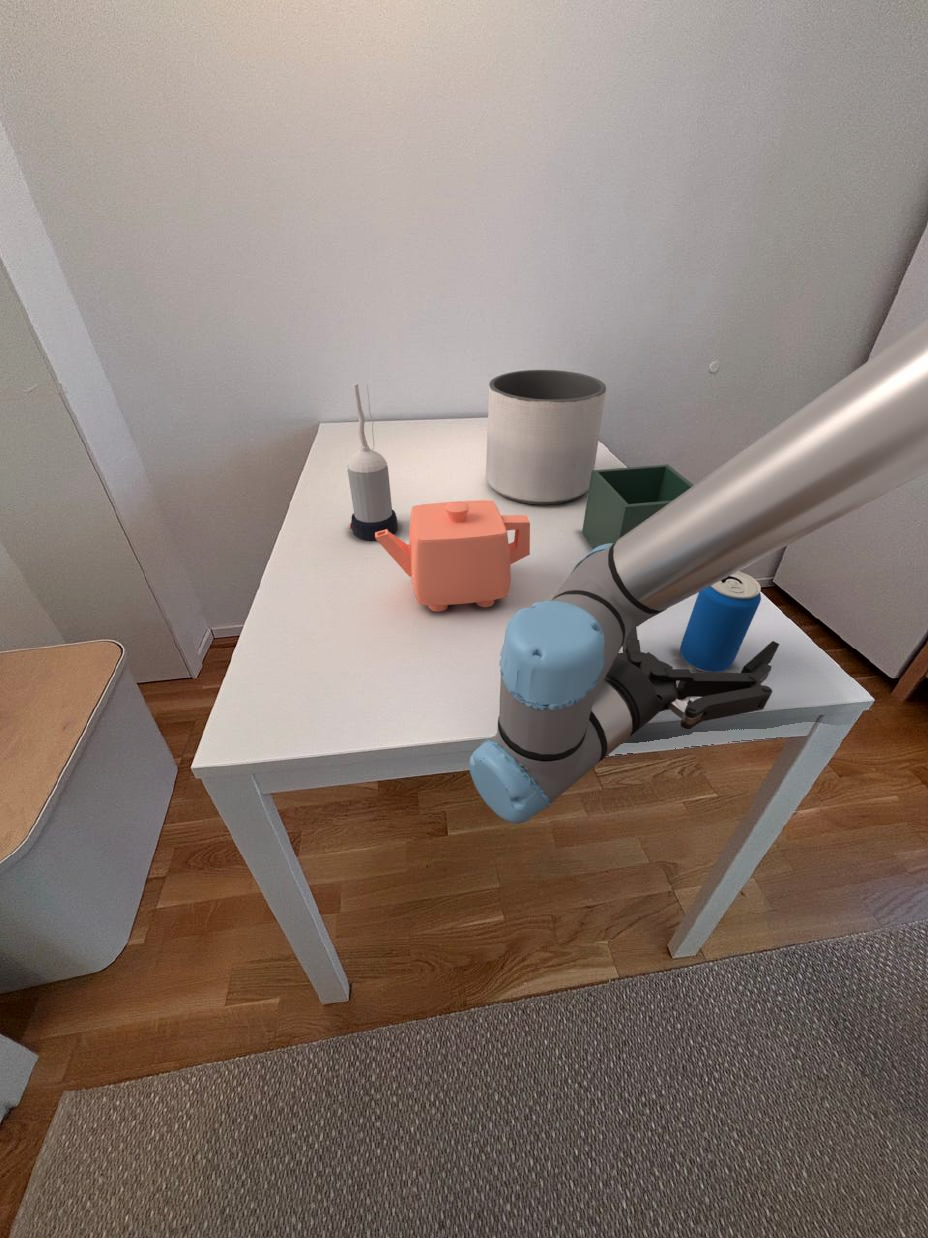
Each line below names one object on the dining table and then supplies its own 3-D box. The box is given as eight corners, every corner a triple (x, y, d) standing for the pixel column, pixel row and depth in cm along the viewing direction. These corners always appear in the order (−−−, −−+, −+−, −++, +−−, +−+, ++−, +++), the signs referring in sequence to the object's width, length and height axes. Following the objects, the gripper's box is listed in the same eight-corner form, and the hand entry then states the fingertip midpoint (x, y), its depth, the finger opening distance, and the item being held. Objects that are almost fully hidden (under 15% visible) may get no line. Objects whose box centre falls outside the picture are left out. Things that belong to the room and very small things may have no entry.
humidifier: (346, 525, 95) (322, 381, 80) (387, 515, 98) (372, 374, 83) (361, 545, 90) (339, 394, 74) (405, 533, 93) (392, 386, 77)
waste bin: (690, 566, 84) (711, 499, 77) (611, 574, 82) (625, 506, 75) (652, 526, 95) (668, 464, 87) (581, 533, 93) (591, 470, 85)
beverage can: (722, 644, 69) (753, 568, 62) (737, 678, 64) (773, 601, 57) (673, 641, 70) (698, 566, 62) (684, 674, 65) (713, 597, 57)
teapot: (384, 622, 73) (372, 534, 64) (382, 573, 83) (371, 491, 74) (535, 608, 75) (544, 521, 67) (516, 562, 85) (521, 481, 76)
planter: (607, 478, 111) (625, 378, 99) (563, 519, 97) (577, 408, 84) (517, 457, 121) (523, 363, 108) (465, 491, 106) (465, 388, 94)
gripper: (516, 667, 62) (625, 600, 73) (707, 814, 47) (810, 702, 57) (520, 618, 57) (636, 554, 68) (733, 764, 42) (840, 653, 53)
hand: (716, 622), depth 63 cm, fingers open, 13 cm apart
